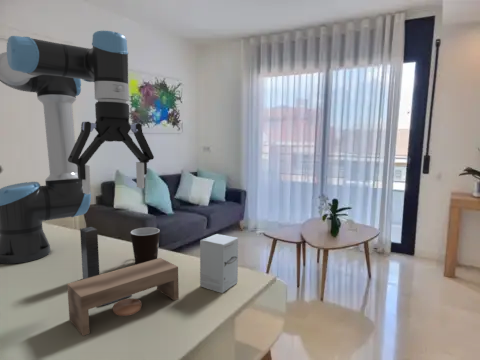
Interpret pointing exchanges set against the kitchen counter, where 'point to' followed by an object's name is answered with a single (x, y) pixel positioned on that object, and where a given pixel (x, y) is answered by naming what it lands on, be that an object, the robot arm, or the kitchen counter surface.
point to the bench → (119, 288)
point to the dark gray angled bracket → (90, 254)
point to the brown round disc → (127, 307)
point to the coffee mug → (145, 244)
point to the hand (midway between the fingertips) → (115, 190)
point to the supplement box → (218, 262)
